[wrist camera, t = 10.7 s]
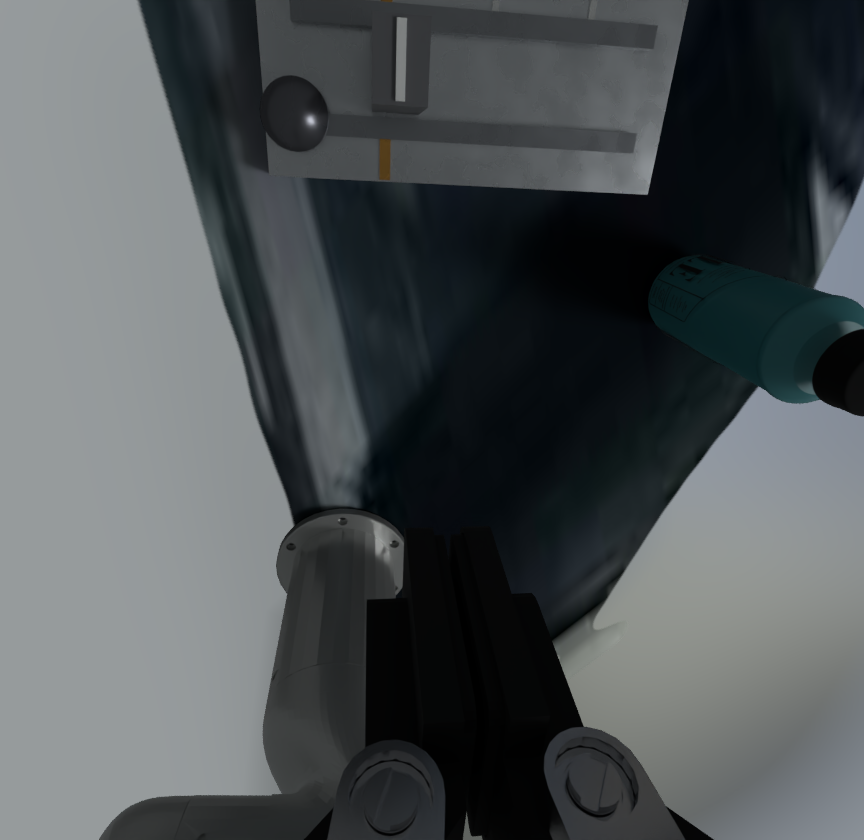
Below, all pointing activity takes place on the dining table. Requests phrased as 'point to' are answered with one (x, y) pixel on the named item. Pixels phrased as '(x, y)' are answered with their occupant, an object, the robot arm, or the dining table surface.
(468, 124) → the console
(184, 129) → the dining table surface
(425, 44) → the fader tab
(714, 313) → the beverage bottle
